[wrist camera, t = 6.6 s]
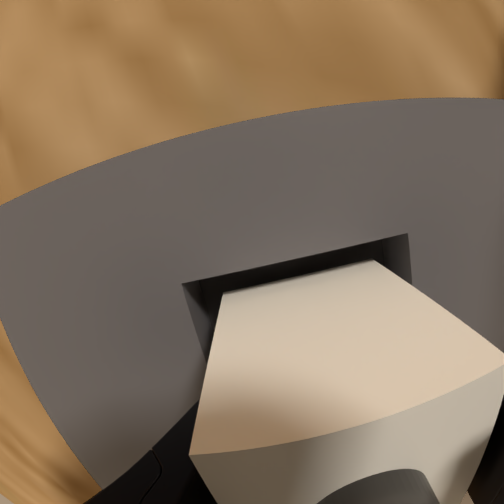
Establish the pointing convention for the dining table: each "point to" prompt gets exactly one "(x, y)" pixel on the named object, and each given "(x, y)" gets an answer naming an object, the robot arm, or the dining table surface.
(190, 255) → the socket plate
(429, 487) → the plug
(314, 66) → the dining table surface
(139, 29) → the dining table surface
